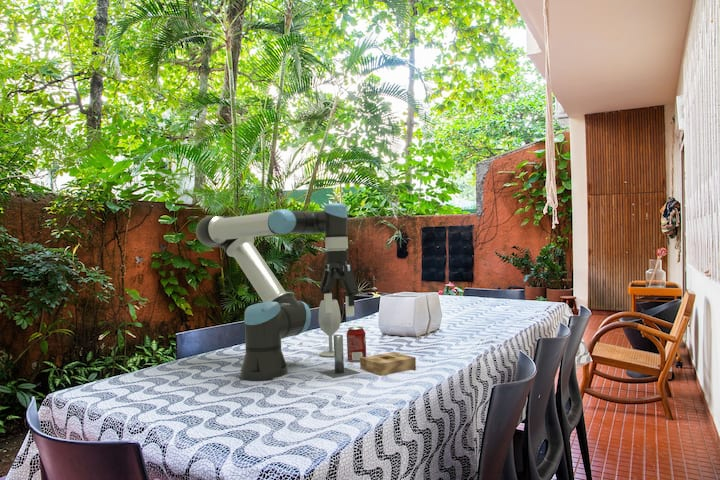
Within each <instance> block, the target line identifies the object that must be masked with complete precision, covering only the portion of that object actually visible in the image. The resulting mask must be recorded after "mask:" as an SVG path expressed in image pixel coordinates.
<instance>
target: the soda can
mask: <svg viewBox="0 0 720 480" xmlns="http://www.w3.org/2000/svg"><path fill="white" fill-rule="evenodd" d="M366 339H367V338H366V331H365V329H364V327H363V326H350V327H348V330H347V332H346V346H347V347H346V349H347V351H346V352H347V361H348V362H350V363H351V362H353V363H360V358H362V357H367V341H366Z"/></svg>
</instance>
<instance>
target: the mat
mask: <svg viewBox="0 0 720 480" xmlns="http://www.w3.org/2000/svg"><path fill="white" fill-rule="evenodd" d="M318 373H320V374H322V375H325V376H327V377H329V378H332V379H338V378H341V377H347V376H352V375H357V374H358V375H359V374H361V372H360V371H356V370H354V369H351V368H348V367H344V373H341V374H337V373H335V368H334V369H328V370H322V371H319V372H318Z"/></svg>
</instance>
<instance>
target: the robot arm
mask: <svg viewBox="0 0 720 480" xmlns="http://www.w3.org/2000/svg"><path fill="white" fill-rule="evenodd" d="M323 207H324V208H323V210H321V211H320V210H318V211H308V210H305V211H304V210H294V209H293V210H292V209H285V208H284V209H282V208H281V209H280V208H279V209H275V210H274V211H269V212H262V213H253V214H247V215H239V216H235V215H234V216H222V215H208V216H205V217H203V218H202V219H200V220H199V221H198V223H197V225H196V228H195V235H196V238H197V239H198V241H199V242H200V243H201V244H202V245H203V246H206V247H208V248H209V247H210V248H223V250H224V252H225V253H226V255H227V256H228V257H230V258H231V257H232V258H234V259H235V261H236V262H237V264H238V265H239V267H240V269H241V270H242V272H243V273H244V274H245V276H246V278H247V279H248V281H249V282H250V285H251V286H252V287H253V288H254V290H255V291H256V294H257V295H258V296H259V298H260V299H261V300H262V302H257V303H254V304H251V305H249V306H247V307H246V308H245V310H244V319H243V323H244V325H243V326H244V340H245V341H244V342H245V355H244V356H243V357H244V358H243V361H242V365H241V368H240V378H241V379H243V380H247V381H269V380H274V379H276V378H277V379H278V378H280V377H283V376H286V375H287V374H288V364H287V362H286V359H285V357H284V354H283V350H282V340H283V339H285V338H290V337H293V336H294V337H295V336H298V335H300V334H302V333H304V332H306V331H307V329H308V328H309V327H310V325H311V318H312V312H311V309H310V306H309V305H308V304H307V303H306V302H305V301H302V300H297V298H296V297H295V296H294V294H293V293H292V292H291V291H286V290H285V289H284V287H283V286H282V285H281V283H280V282H279V280H278V278H277V277H276V276H275V274H274V272H273V271H272V270H271V268H270V267H269V265H268V264H267V263H266V261H265V259H264V258H263V256H262V254H260V251H259V250H258V249H257V248H256V246H255V244H254V243H255V238H256V237H264V236H265V237H266V236H273V235H274V236H275V235H286V234H299V235H310V234H311V235H313V234H324V236H325V237H324V239H325V242H324V243H325V250H327V251H326V252H325V262H326V263H329V264H324V266H323V273H322V277H321V278H322V279H321V283H320V287H319V291H320V292H322V294H323V300H324V311H325V313H331V312H332V300H333V292H332V289H333V287H334V284H335V282H336V280H337V279H338V280H339V281H340V283H341V285H342V287H343V289H344V292H345V296H344V297H345V316H346V318H348V317H355V296H356V295H358V294H359V289H358V285H357V282H356V279H355V275H354V271H353V266H352V264H346V263H347V262H349V257H350V256H349V251H348V249H349V240H348V238H349V237H348V236H349V235H348V218H349V217H348V210H347V209H348V207H347V205H346V204H345V203H340V202H339V203H338V202H337V203H334V202H333V203H326V204H324V206H323Z"/></svg>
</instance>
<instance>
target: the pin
mask: <svg viewBox="0 0 720 480" xmlns="http://www.w3.org/2000/svg"><path fill="white" fill-rule="evenodd" d="M343 337H344V335H343V334H333V351H334V357H333V358H334V369H335V373H337V374H341V373H344V368H345V360H344V338H343Z"/></svg>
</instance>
